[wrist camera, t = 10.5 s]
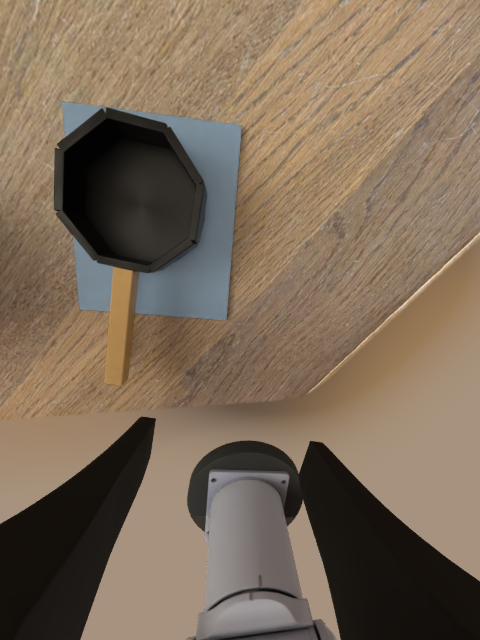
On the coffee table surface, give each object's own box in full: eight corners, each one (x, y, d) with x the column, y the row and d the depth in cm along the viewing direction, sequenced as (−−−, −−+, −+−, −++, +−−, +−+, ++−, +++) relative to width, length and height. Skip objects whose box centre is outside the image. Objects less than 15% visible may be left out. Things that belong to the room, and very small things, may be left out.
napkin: (226, 319, 19) (226, 320, 19) (81, 308, 18) (78, 309, 18) (241, 127, 16) (242, 124, 16) (64, 103, 15) (61, 100, 15)
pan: (88, 123, 15) (55, 92, 12) (215, 156, 16) (212, 135, 13) (77, 357, 19) (50, 376, 16) (179, 374, 20) (171, 394, 17)
